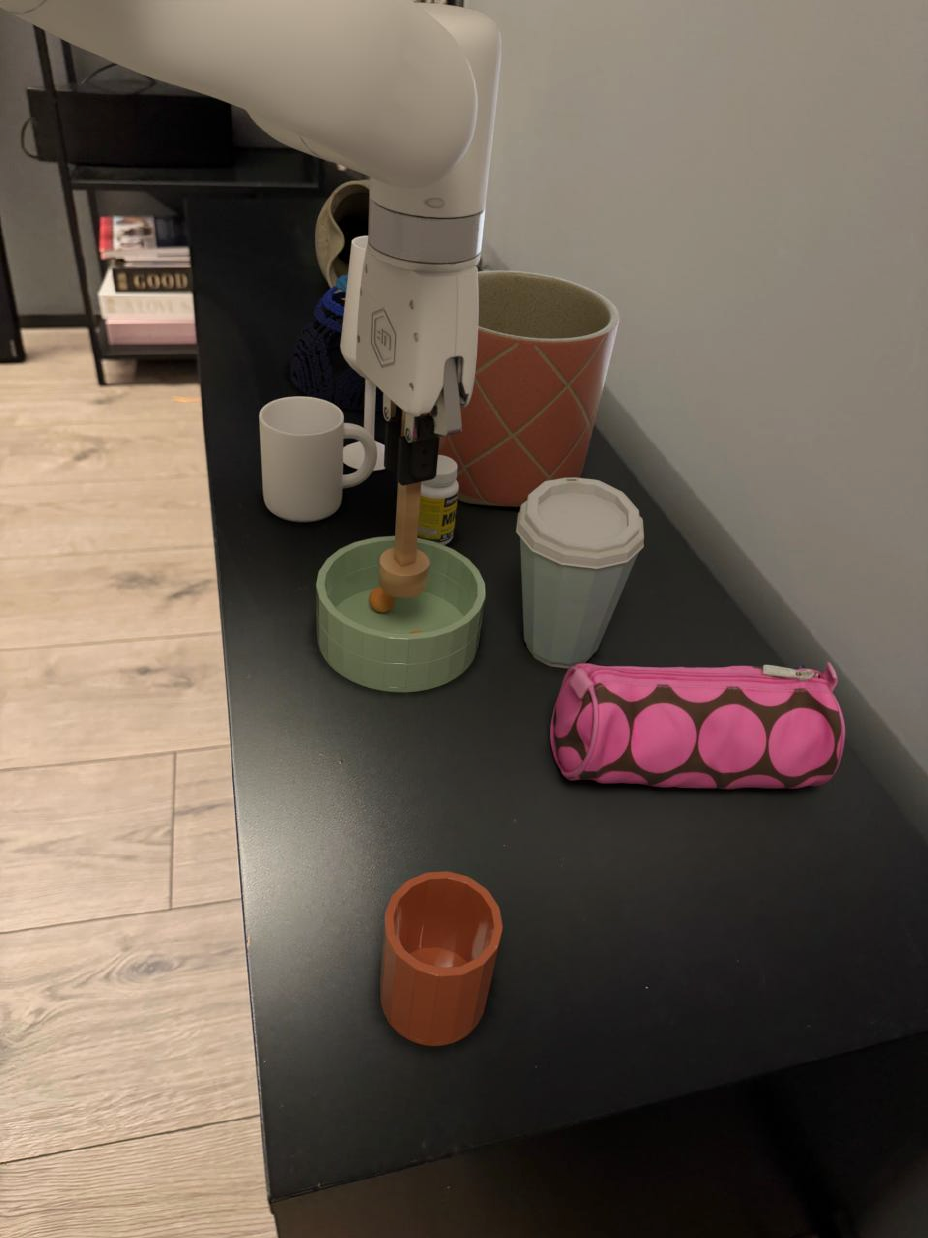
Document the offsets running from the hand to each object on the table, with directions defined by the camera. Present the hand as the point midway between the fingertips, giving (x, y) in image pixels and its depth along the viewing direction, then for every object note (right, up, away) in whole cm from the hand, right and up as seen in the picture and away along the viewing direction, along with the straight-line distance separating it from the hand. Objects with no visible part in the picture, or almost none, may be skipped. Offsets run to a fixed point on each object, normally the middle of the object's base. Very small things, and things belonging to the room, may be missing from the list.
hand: (409, 472), depth 72 cm
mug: (-11, +1, +26) cm, 29 cm away
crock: (+2, -35, -15) cm, 38 cm away
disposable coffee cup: (+13, -14, +12) cm, 22 cm away
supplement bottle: (+1, -3, +24) cm, 24 cm away
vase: (-11, +41, +76) cm, 87 cm away
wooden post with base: (-1, -8, +7) cm, 11 cm away
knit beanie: (-9, +21, +51) cm, 56 cm away
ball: (-3, -10, +12) cm, 15 cm away
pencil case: (+21, -23, +2) cm, 32 cm away
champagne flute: (-7, +7, +35) cm, 36 cm away
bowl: (-2, -13, +11) cm, 17 cm away
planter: (+9, +5, +35) cm, 37 cm away
